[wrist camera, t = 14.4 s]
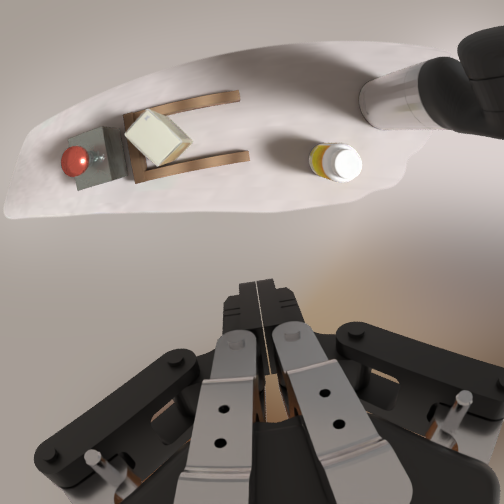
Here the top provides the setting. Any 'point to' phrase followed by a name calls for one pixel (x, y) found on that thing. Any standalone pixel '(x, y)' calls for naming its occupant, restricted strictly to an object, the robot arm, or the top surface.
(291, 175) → the top surface
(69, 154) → the button
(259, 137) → the top surface
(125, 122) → the rail
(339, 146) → the supplement bottle
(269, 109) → the top surface
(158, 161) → the skincare box
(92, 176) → the cabinet
